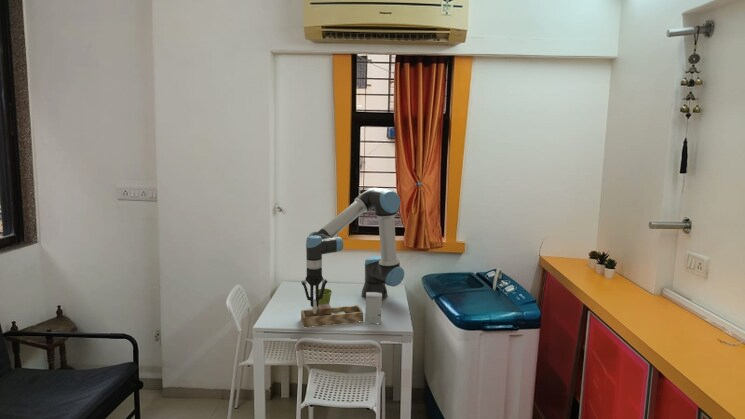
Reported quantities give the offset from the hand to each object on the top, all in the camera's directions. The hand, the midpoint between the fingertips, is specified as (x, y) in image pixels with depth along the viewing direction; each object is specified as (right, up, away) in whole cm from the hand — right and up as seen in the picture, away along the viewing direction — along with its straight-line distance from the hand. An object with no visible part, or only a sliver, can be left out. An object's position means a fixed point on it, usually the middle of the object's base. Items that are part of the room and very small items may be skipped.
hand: (314, 312), depth 227 cm
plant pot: (+2, -2, +22) cm, 22 cm away
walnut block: (+5, -2, +2) cm, 5 cm away
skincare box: (+29, -5, +3) cm, 30 cm away
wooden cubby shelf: (+8, -5, +3) cm, 10 cm away
